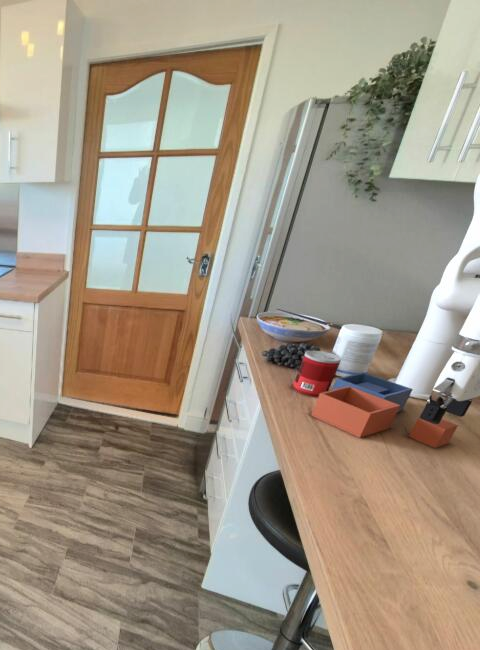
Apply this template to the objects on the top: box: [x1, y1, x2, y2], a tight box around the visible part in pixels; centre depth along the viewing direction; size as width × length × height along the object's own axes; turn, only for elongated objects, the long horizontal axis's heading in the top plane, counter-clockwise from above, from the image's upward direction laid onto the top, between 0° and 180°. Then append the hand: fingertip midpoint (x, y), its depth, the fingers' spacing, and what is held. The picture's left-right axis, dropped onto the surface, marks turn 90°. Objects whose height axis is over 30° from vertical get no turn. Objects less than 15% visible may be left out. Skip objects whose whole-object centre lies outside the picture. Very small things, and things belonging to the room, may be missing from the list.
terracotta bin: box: [310, 386, 400, 439], centre depth 106 cm, size 11×11×6 cm
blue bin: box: [331, 372, 413, 413], centre depth 114 cm, size 11×11×6 cm
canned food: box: [293, 350, 341, 398], centre depth 120 cm, size 8×8×11 cm
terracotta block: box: [408, 417, 459, 449], centre depth 99 cm, size 5×5×5 cm
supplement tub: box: [331, 323, 384, 378], centre depth 130 cm, size 10×10×15 cm
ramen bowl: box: [256, 308, 343, 344], centre depth 159 cm, size 25×23×8 cm
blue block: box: [357, 382, 389, 395], centre depth 114 cm, size 5×5×5 cm
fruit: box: [261, 342, 321, 371], centre depth 137 cm, size 9×8×15 cm
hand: (441, 417), depth 97 cm, fingers open, 9 cm apart
